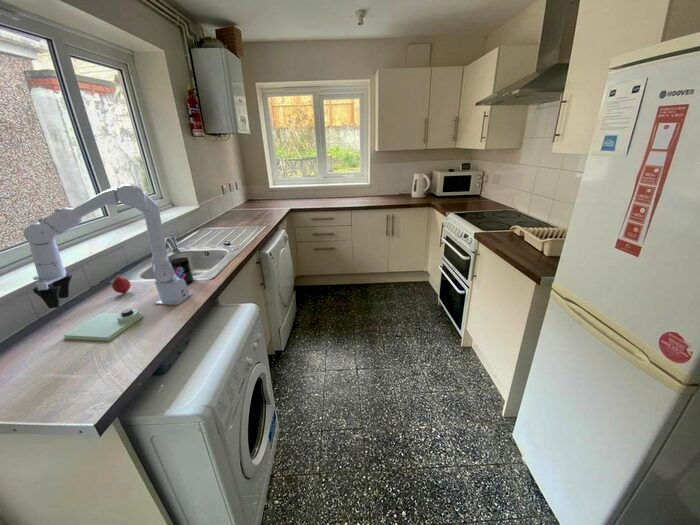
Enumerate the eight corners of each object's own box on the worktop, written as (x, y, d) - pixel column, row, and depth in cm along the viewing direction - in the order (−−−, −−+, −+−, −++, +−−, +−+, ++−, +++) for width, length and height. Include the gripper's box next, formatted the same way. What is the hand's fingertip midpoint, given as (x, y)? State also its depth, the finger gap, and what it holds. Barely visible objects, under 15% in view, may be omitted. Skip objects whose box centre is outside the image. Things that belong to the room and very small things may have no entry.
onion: (123, 297, 115) (116, 279, 112) (112, 296, 117) (104, 278, 114) (136, 290, 121) (129, 273, 118) (125, 289, 122) (118, 272, 119)
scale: (144, 316, 101) (141, 309, 100) (110, 341, 88) (107, 333, 87) (104, 315, 103) (100, 308, 102) (65, 338, 91) (61, 331, 90)
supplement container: (175, 282, 126) (168, 260, 122) (191, 277, 130) (185, 256, 126) (179, 287, 122) (172, 264, 118) (196, 281, 126) (190, 259, 122)
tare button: (135, 312, 99) (133, 308, 98) (127, 317, 96) (126, 313, 95) (127, 312, 99) (125, 308, 98) (120, 317, 96) (118, 313, 96)
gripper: (41, 256, 92) (52, 295, 96) (17, 270, 80) (30, 314, 84) (70, 254, 95) (79, 292, 99) (51, 268, 83) (62, 310, 87)
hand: (59, 302), depth 92 cm, fingers open, 7 cm apart
